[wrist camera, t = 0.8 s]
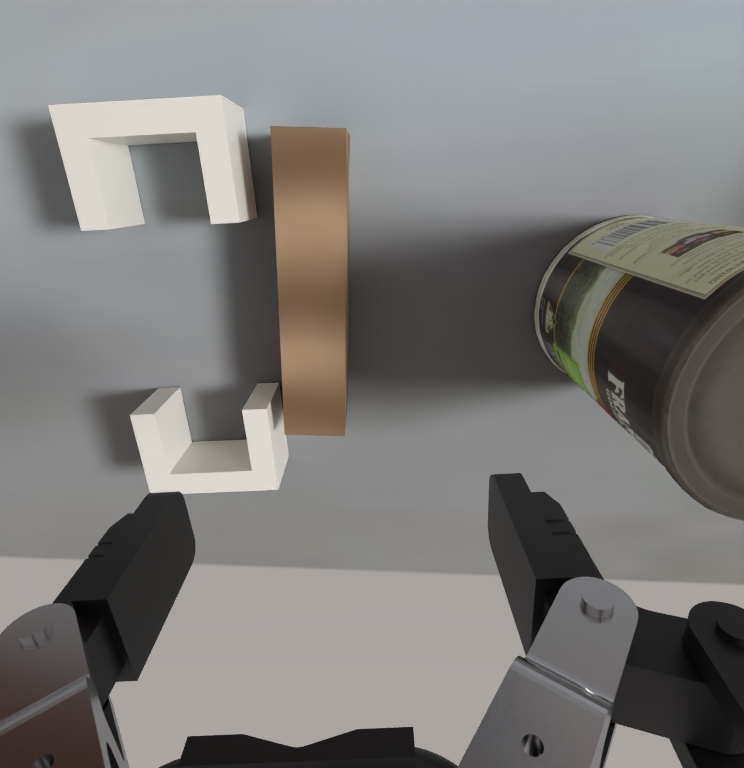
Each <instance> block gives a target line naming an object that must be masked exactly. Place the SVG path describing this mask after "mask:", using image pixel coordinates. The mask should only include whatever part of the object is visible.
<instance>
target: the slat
mask: <svg viewBox="0 0 744 768" xmlns="http://www.w3.org/2000/svg"><path fill="white" fill-rule="evenodd" d="M270 128H271V150H272V172H273V194H274V216H275V238H276V260H277V282H278V304H279V326H280V348H281V370H282V392H283V414H284V435H325V436H344V435H345V426H346V416H347V386H348V275H349V164H350V136H349V133H348V131H347V129H346V128H317V127H284V126H270Z"/></svg>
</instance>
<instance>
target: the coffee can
mask: <svg viewBox="0 0 744 768" xmlns="http://www.w3.org/2000/svg"><path fill="white" fill-rule="evenodd" d="M534 320H535V328H536V333H537V337H538V340H539V342H540V345H541V347H542V349H543V351H544V352H545V354H546V355H547V357H548V358H549V359H550V360H551V362H552V363H553V364H554V365H555V366H556V367H558V368H559V369H560V370H561V371H562V372H564V373H566V374H567V375H568V376H569V377H570V378H571V379H572V380H573V381H574V382H575V383H577V384H578V385H579V386H580V387H581V388H582V389H583V390H584V391H585V392H586V393H587V394H588V395H589V396H590V397H591V398H593V399H594V400H595V401H596V402H597V403H598V404H599V405H600V406H601V407H602V408H603V409H604V410H605V411H606V412H607V413H608V414H609V415H610V416H611V417H612V418H613V419H614V420H616V421H617V422H618V423H619V424H620V425H621V426H622V427H623V428H624V429H625V430H626V431H627V432H628V433H630V434H631V435H632V437H633V438H635V439H636V440H637V441H638V442H639V443H640V444H641V445H642V446H643V447H644V448H645V449H646V450H647V451H648V452H649V453H650V454H652V455H653V456H654V457H655V458H656V459H657V460H658V461H659V462H660V463H661V464H662V465H663V466H664V467H665V468H666V470H667V471H668V473H669V474H670V475H671V476H672V478H673V479H674V480H675V481H676V482H677V483H678V485H679V486H680V487H681V488H682V489H683V490H684V491H685V492H686V493H688V494H689V495H690V496H691V497H692V498H693V499H694V500H696V501H697V502H699V503H700V504H701V505H703V506H704V507H706V508H708V509H710V510H712V511H714V512H717V513H719V514H722V515H724V516H727V517H731V518H734V519H739V520H744V227H736V226H726V225H716V224H707V223H697V222H687V221H677V220H668V219H660V218H657V217H651V216H644V215H628V216H623V217H618V218H614V219H611V220H608V221H605V222H602V223H600V224H597V225H595V226H593V227H591V228H590V229H588V230H586V231H584V232H583V233H581V234H580V235H578V236H577V237H576V238H574V239H573V240H572V241H571V242H570V243H569V244H568V245H566V246H565V247H564V248H563V249H562V250H561V251H560V253H559V254H558V255H557V257H556V258H555V259H554V260H553V262H552V263H551V264H550V266H549V268H548V269H547V271H546V273H545V275H544V277H543V279H542V281H541V284H540V287H539V290H538V293H537V297H536V302H535V310H534Z"/></svg>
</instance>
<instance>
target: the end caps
mask: <svg viewBox="0 0 744 768" xmlns="http://www.w3.org/2000/svg"><path fill="white" fill-rule="evenodd" d="M48 106H49V110H50V114H51V118H52V122H53V125H54V129H55V133H56V137H57V141H58V144H59V148H60V152H61V156H62V160H63V163H64V167H65V171H66V175H67V179H68V182H69V186H70V190H71V194H72V198H73V201H74V205H75V209H76V213H77V217H78V220H79V224H80V228H81V231H91V230H110V229H116V228H122V227H129V226H135V225H141V224H145V221H144V217H143V212H142V207H141V203H140V198H139V193H138V189H137V184H136V179H135V175H134V170H133V166H132V161H131V156H130V152H129V147H128V145H144V144H162V143H180V142H197V143H198V149H199V155H200V161H201V167H202V173H203V179H204V185H205V191H206V197H207V203H208V209H209V215H210V221H211V224H223V223H240V222H244V221H248V220H252V219H255V218H257V210H256V202H255V195H254V187H253V180H252V172H251V164H250V157H249V149H248V141H247V134H246V126H245V119H244V111H243V108H241V107H239V106H238V105H236V104H235V103H233V102H231V101H230V100H228V99H227V98H225V97H223V96H222V95H215V96H198V97H180V98H163V99H146V100H128V101H111V102H94V103H76V104H59V105H48ZM242 413H243V419H244V425H245V431H246V437H247V439H246V440H223V441H201V442H192V440H191V435H190V431H189V426H188V421H187V417H186V412H185V408H184V403H183V398H182V394H181V389H180V387H172V388H158V389H157V390H156V391H155V392H154V393H153V394H152V395H151V396H150V397H149V398H147V399H146V400H145V401H144V402H143V403H142V404H141V405H140V406H139V407H138V408H137V409H136V410H135V411H134V412H133V413H132V414H130V418H131V422H132V426H133V429H134V433H135V437H136V441H137V444H138V448H139V452H140V456H141V460H142V463H143V467H144V471H145V475H146V479H147V482H148V486H149V490H150V493H159V492H177V491H179V492H181V493H182V494H188V493H212V492H235V491H258V490H278V489H279V486H280V483H281V479H282V476H283V473H284V470H285V466H286V463H287V460H288V457H289V454H288V446H287V438H286V435H284V416H283V408H282V400H281V393H280V385H279V383H257V385H256V387H255V388H254V390H253V392H252V394H251V395H250V397H249V399H248V400H247V402H246V404H245V406H244V407H243V409H242Z"/></svg>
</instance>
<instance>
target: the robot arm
mask: <svg viewBox="0 0 744 768" xmlns="http://www.w3.org/2000/svg"><path fill="white" fill-rule="evenodd" d="M488 532H489V540H490V545H491V549H492V552H493V555H494V558H495V561H496V565H497V568H498V571H499V574H500V577H501V579H502V583H503V586H504V589H505V592H506V595H507V598H508V601H509V604H510V608H511V611H512V614H513V617H514V620H515V623H516V626H517V629H518V632H519V636H520V639H521V642H522V645H523V648H524V651H525V654H526V657H525V658H522V657H521V656H518V657H517V658H516V659H515V660H514V661H513V663H512V664H511V666H510V668H509V670H508V672H507V674H506V676H505V678H504V680H503V682H502V683H501V685H500V687H499V689H498V691H497V693H496V695H495V697H494V699H493V701H492V703H491V704H490V706H489V708H488V710H487V712H486V714H485V716H484V718H483V720H482V722H481V724H480V726H479V727H478V729H477V732H476V733H475V735H474V737H473V739H472V741H471V743H470V745H469V747H468V749H467V750H466V752H465V754H464V756H463V758H462V760H461V762H460V764H459V766H457V765H455V764H454V763H452V762H451V761H449V760H447V759H445V758H444V757H442V756H440V755H438V754H435V753H433V752H430V751H428V750H424V749H421V748H417V747H414V734H413V727H400V728H376V729H357V730H354V731H351V732H348V733H344V734H341V735H338V736H335V737H332V738H329V739H325V740H322V741H319V742H316V743H313V744H310V745H307V746H304V747H297V748H295V747H290V746H286V745H282V744H278V743H275V742H271V741H267V740H263V739H259V738H255V737H251V736H248V735H243V734H236V735H214V736H190V737H188V738H187V741H186V744H185V747H184V750H183V753H182V756H181V758H180V759H177V760H174V761H172V762H170V763H168V764H166V765H163V766H161V767H159V768H605V765H606V761H607V757H608V754H609V750H610V747H611V743H612V740H613V736H614V733H615V729H616V726H617V724H620V725H623V726H627V727H631V728H634V729H638V730H641V731H645V732H648V733H652V734H655V735H659V736H663V737H666V738H669V739H670V741H671V743H672V745H673V748H674V750H675V752H676V754H677V756H678V758H679V760H680V762H681V765H682V767H683V768H744V609H743V608H740V607H738V606H735V605H732V604H728V603H723V602H715V601H709V602H702V603H699V604H697V605H695V606H694V607H693V608H692V609H691V610H690V612H689V616H688V619H686V618H681V617H677V616H672V615H667V614H662V613H657V612H653V611H649V610H645V609H643V608H640V607H637V606H636V605H635V603H634V602H633V600H632V599H631V598H630V596H629V595H628V594H626V593H625V592H624V591H623V590H622V589H620V588H619V587H617V586H616V585H614V584H612V583H610V582H608V581H605V580H604V579H603V577H602V576H601V574H600V572H599V571H598V569H597V567H596V565H595V564H594V562H593V560H592V558H591V557H590V555H589V553H588V552H587V550H586V548H585V546H584V545H583V543H582V541H581V540H580V538H579V536H578V534H576V531H575V529H574V528H573V526H572V524H571V522H569V520H568V517H567V515H566V514H565V512H564V510H563V509H562V507H561V505H560V504H559V503H558V502H557V501H555V500H554V499H553V498H551V497H550V496H549V495H548V494H546V493H545V492H531V491H530V489H529V487H528V485H527V484H526V482H525V480H524V478H523V476H522V474H521V473H513V474H495V475H491V476H490V481H489V508H488ZM194 555H195V538H194V534H193V530H192V526H191V523H190V519H189V515H188V511H187V507H186V503H185V500H184V497H183V495H182V493H181V492H179V491H177V492H159V493H149V494H148V495H147V496H146V497H145V498H144V500H143V501H142V502H141V504H140V505H139V507H138V508H137V509H136V511H135V512H134V513H132V514H127V515H126V516H124V517H123V518H122V519H120V520H119V521H118V522H116V523H115V524H114V525H112V526H111V527H110V528H109V529H108V531H107V532H106V533H105V535H104V536H103V537H102V539H101V540H100V541H99V542H98V546H95V548H94V549H93V550H92V552H91V553H90V554H89V558H88V559H86V560H85V561H84V562H83V564H82V565H81V566H80V568H79V569H78V570H77V572H76V573H75V574H74V576H73V577H72V578H71V579H70V581H69V582H68V584H67V585H66V586H65V587H64V589H63V590H62V592H61V593H60V594H59V596H58V597H57V598H56V599H55V601H54V602H53V603H52V604H49V605H44V606H41V607H38V608H36V609H33V610H31V611H29V612H27V613H25V614H24V615H22V616H21V617H19V618H18V619H16V620H15V621H13V622H12V623H11V624H10V625H9V626H8V627H7V628H6V629H5V630H4V631H3V632H2V633H1V634H0V768H129V764H128V761H127V757H126V753H125V750H124V745H123V742H122V738H121V735H120V730H119V726H118V723H117V719H116V715H115V712H114V707H113V704H112V701H111V699H110V696H109V694H110V692H111V690H112V688H113V686H114V684H115V682H119V681H137V680H138V678H139V676H140V674H141V672H142V670H143V667H144V665H145V663H146V661H147V659H148V657H149V655H150V653H151V650H152V648H153V646H154V644H155V642H156V640H157V638H158V635H159V633H160V631H161V629H162V627H163V625H164V622H165V620H166V618H167V616H168V614H169V612H170V610H171V608H172V606H173V604H174V601H175V599H176V597H177V595H178V593H179V591H180V589H181V587H182V584H183V582H184V580H185V578H186V576H187V574H188V572H189V569H190V567H191V565H192V563H193V560H194Z"/></svg>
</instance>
